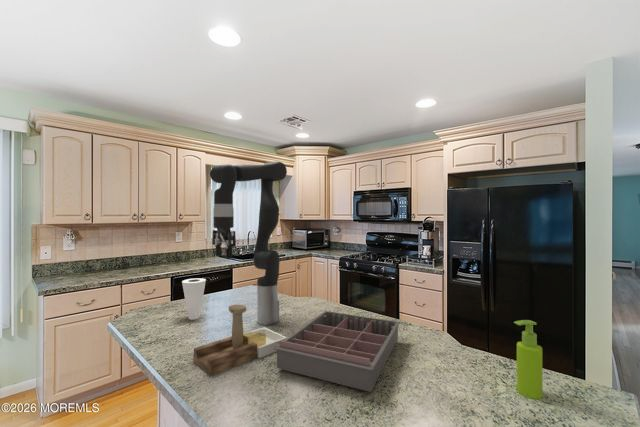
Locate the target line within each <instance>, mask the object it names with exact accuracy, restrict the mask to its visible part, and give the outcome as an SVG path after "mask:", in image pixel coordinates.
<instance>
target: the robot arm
mask: <svg viewBox="0 0 640 427" xmlns="http://www.w3.org/2000/svg"><path fill="white" fill-rule="evenodd" d="M209 171H210V172H209V177H210V178H211V180H212V181H213V182H214V183H217V184H220V186H219V188H217V189H215V190H214V193H213V199H214V200H213V212H212V213H213V214H212V215H213V220H212V221H213V225H212V227H213V228H214V229H213V230H212V241H211V243H212V245H213V246H214V247H215V257H221V256H222V245H225V258H226V259H232V258H233V249H234V248H235V247H236V244H237V242H236V231H235V230H231V229H232V228H234V226H235V224H234V223H235V222H234V221H235V218H234V215H235V214H234V212H235V211H234V203H233V202H234V196H233V195H234V190H235V188H236V184H237V182H250V181H257V180H260V204H259V212H258V227H257V235H256V236H257V237H256V242H255V246H254V247H255V248H254V253H253V265H254V268H256V269H258V270H264V271H265V272H264V275H263V276H260V277H258V278H257V281H256V282H257V285H256V287H257V289H256V290H257V291H256V292H257V293H256V294H257V295H256V296H257V302H256V303H257V306H256V307H257V308H256V310H257V314H256V315H257V316H256V317H257V318H256V319H257V321H256V322H257V324H259V325H265V326H267V325H273V324H276V323H277V322H279V321H280V300H279V299H278V280H279V277H280V276H279V275H280V255H279V252H278V251H276V250H274V249H268V247H269V241H270V238H271V235H272V234H273V233H274V231H275V229H276V228H277V226H278V224H279V218H280V217H279V216H280V207H279V204H278V201H277V200H276V198H275V197H276V196H275V195H274V191H273V190H274V187H273V185H274V182H279V181H283V180H284V179H285V178H286V177H287V173H288V170H287V166H286V164H284V162H281V161H268V162H265V163H263V164H235V165H233V164H229V163H227V164H218V165H215V166H212V168H211V169H210V170H209Z"/></svg>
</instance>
